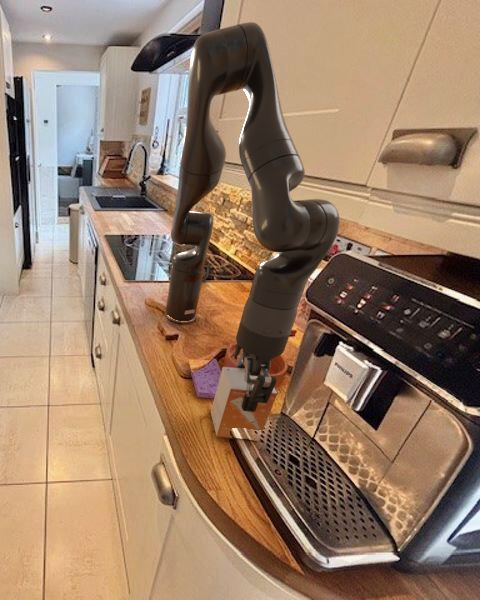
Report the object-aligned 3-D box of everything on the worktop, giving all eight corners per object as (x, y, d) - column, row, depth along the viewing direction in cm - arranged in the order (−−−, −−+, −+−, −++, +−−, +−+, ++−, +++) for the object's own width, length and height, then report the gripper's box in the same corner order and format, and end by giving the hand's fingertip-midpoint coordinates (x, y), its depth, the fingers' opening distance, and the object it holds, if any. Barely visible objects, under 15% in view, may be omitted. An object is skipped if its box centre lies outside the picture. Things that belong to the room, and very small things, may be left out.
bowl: (218, 354, 87) (221, 339, 85) (271, 359, 85) (276, 343, 83) (228, 388, 76) (233, 372, 74) (290, 395, 74) (297, 379, 71)
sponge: (197, 397, 74) (198, 391, 73) (187, 362, 85) (188, 356, 84) (229, 400, 73) (231, 393, 72) (214, 363, 84) (216, 358, 83)
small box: (216, 437, 64) (229, 388, 58) (210, 412, 70) (222, 365, 64) (259, 443, 63) (278, 393, 57) (250, 417, 69) (266, 369, 62)
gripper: (308, 351, 48) (277, 429, 56) (275, 303, 60) (253, 373, 68) (254, 346, 49) (230, 423, 57) (232, 300, 61) (215, 369, 69)
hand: (243, 395), depth 62 cm, fingers closed on small box, 6 cm apart
